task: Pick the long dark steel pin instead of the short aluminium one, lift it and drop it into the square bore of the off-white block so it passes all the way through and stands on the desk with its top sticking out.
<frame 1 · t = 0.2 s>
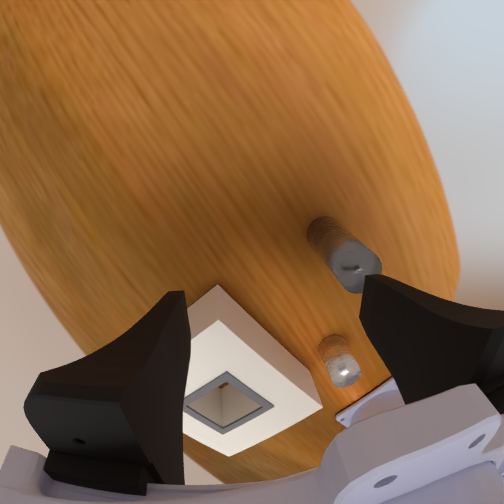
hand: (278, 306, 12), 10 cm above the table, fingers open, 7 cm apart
pin block: (222, 366, 25), on the table
long pin: (323, 233, 22), on the table
short pin: (331, 345, 25), on the table
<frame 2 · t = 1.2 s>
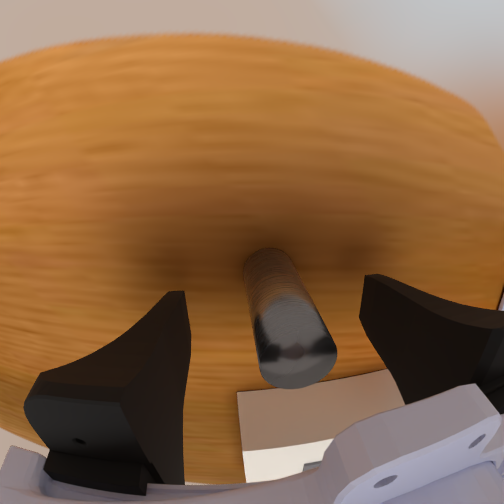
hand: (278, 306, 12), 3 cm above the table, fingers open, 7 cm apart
pin block: (323, 425, 20), on the table
long pin: (268, 271, 15), on the table
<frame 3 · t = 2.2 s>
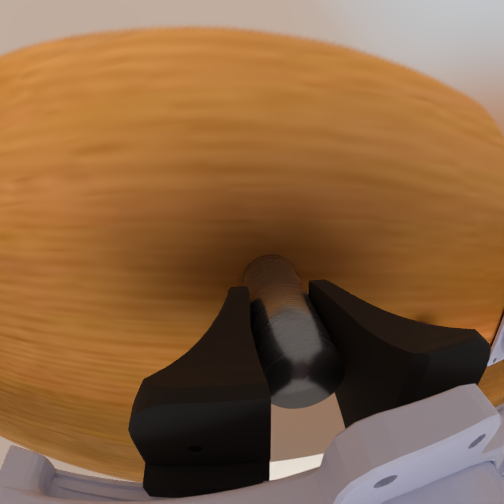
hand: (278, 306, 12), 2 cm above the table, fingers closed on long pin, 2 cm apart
pin block: (324, 433, 19), on the table
long pin: (269, 279, 14), on the table, touching gripper
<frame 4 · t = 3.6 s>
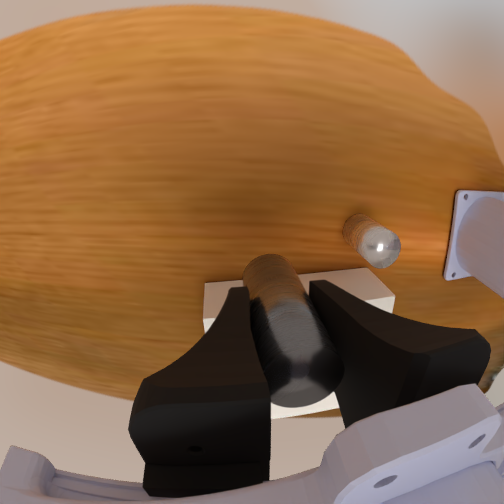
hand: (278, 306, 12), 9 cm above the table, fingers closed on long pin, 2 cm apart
pin block: (289, 332, 24), on the table
long pin: (269, 278, 14), point 7 cm above the table, touching gripper
short pin: (358, 230, 21), on the table
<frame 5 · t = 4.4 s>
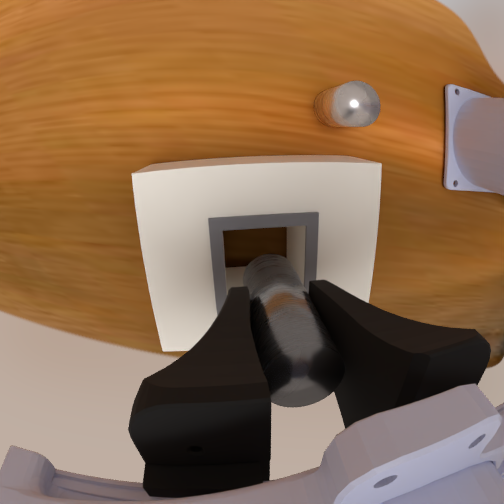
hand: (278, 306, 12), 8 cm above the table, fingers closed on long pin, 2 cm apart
pin block: (255, 236, 20), on the table
long pin: (269, 278, 14), point 6 cm above the table, touching gripper
short pin: (332, 108, 17), on the table
when the fingers open (5 cm above the table, at t = 5.1 s): long pin drops 3 cm, resting in pin block.
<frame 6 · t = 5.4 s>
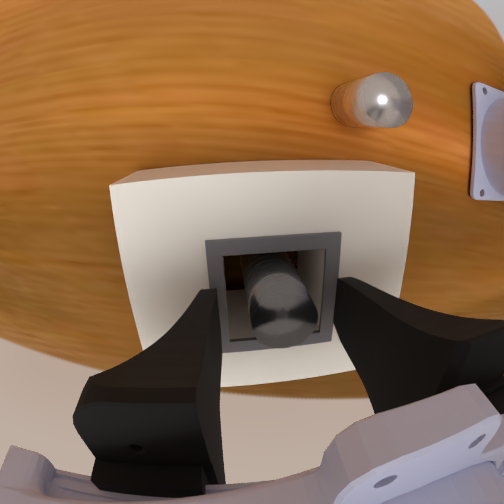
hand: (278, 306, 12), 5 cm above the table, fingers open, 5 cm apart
pin block: (261, 254, 17), on the table
long pin: (261, 253, 17), resting in pin block
short pin: (351, 104, 14), on the table
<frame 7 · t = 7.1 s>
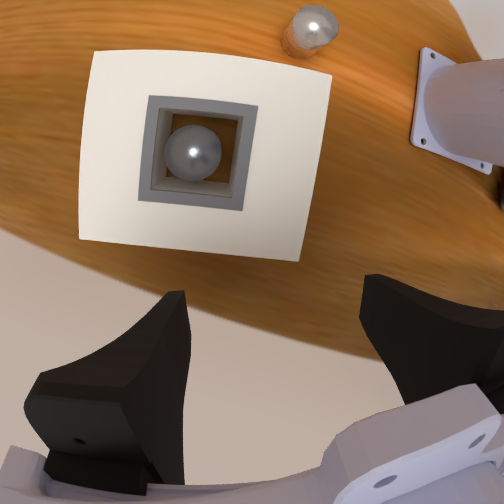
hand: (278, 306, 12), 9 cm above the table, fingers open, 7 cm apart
pin block: (201, 148, 18), on the table
long pin: (201, 147, 18), resting in pin block
short pin: (299, 42, 16), on the table
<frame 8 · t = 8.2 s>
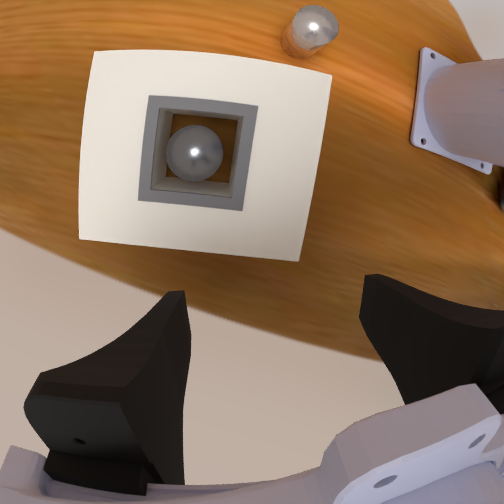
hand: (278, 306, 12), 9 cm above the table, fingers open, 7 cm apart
pin block: (201, 148, 18), on the table
long pin: (201, 147, 18), resting in pin block
short pin: (299, 42, 16), on the table
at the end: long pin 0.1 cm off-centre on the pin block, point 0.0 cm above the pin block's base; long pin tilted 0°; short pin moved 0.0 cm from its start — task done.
